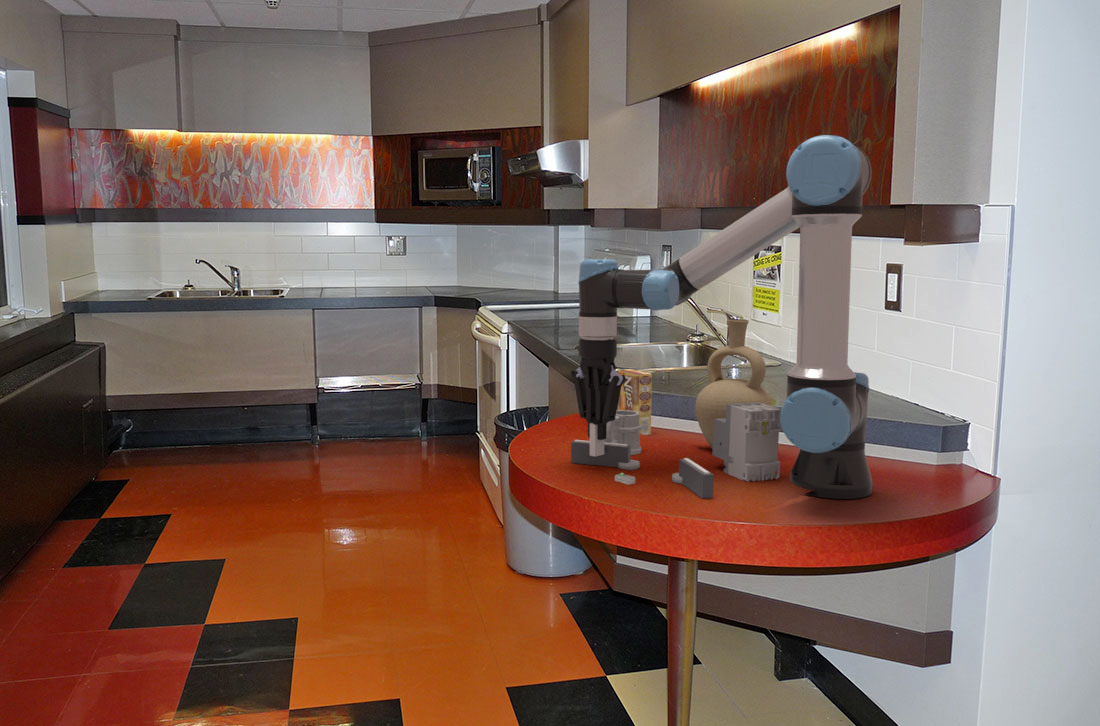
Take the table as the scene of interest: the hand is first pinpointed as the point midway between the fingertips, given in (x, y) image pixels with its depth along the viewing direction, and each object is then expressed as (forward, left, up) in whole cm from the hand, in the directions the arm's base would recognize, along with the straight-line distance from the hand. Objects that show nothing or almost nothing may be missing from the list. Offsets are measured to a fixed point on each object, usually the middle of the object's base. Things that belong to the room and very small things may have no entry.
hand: (596, 454), depth 184 cm
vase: (-7, -37, -4) cm, 37 cm away
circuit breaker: (-21, -21, -4) cm, 30 cm away
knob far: (+1, -3, -3) cm, 4 cm away
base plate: (-12, -2, -4) cm, 12 cm away
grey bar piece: (-22, -3, -3) cm, 22 cm away
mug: (+6, -14, -4) cm, 16 cm away
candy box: (+22, -37, -4) cm, 43 cm away
